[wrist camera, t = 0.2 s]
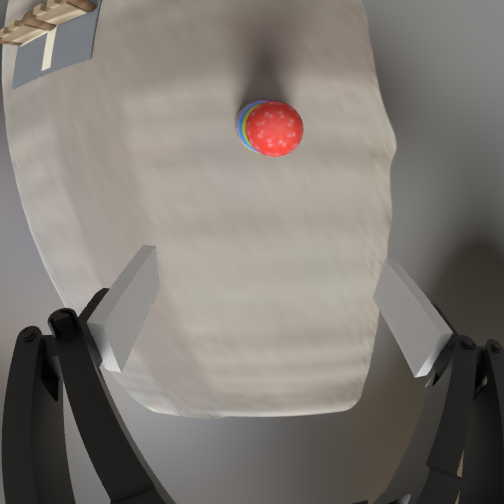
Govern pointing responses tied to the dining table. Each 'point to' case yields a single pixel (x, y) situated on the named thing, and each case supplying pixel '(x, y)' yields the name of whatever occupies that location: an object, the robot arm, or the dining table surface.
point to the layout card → (56, 48)
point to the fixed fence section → (24, 30)
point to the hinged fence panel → (62, 10)
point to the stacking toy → (269, 127)
